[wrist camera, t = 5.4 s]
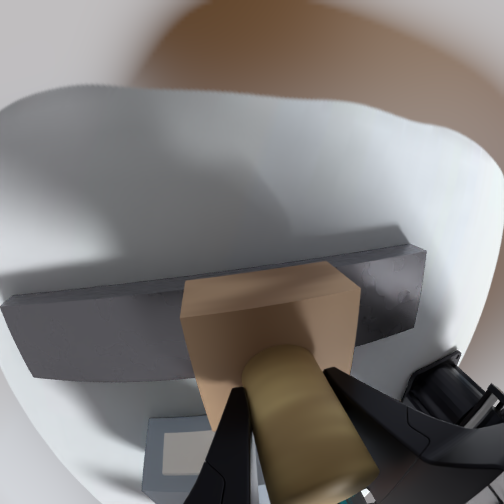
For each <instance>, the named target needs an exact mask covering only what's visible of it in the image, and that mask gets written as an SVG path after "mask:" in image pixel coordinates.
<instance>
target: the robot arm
mask: <svg viewBox="0 0 504 504" xmlns="http://www.w3.org/2000/svg"><path fill="white" fill-rule="evenodd" d="M460 356H461V352H460V351H458V350H457V351H455V352H454V353H452V354H450V355H448V356H446V357H444V358H443V359H441V360H439V361H437V362H435V363H433V364H431V365H429V366H427V367H425V368H423V369H421V370H419V371H416V372H415V373H414V374H413V375H412V376H411V378H410V381H409V384H408V387H407V390H406V392H405V395H404V397H403V400H402V402H399V401H397V400H395V399H393V398H391V397H389V396H387V395H385V394H383V393H382V392H380V391H378V390H376V389H374V388H372V387H370V386H368V385H367V384H365V383H363V382H361V381H359V380H357V379H356V378H354V377H352V376H350V375H348V374H347V373H345V372H343V371H341V370H340V369H338V368H336V367H330V368H326V369H324V370H323V374H324V375H325V377H326V379H327V381H328V382H329V384H330V386H331V387H332V389H333V391H334V393H335V394H336V396H337V398H338V400H339V401H340V403H341V405H342V406H343V408H344V410H345V412H346V413H347V415H348V417H349V419H350V420H351V422H352V424H353V425H354V427H355V429H356V431H357V432H358V434H359V436H360V437H361V439H362V441H363V443H364V444H365V446H366V448H367V450H368V451H369V453H370V455H371V456H372V458H373V460H374V462H375V463H376V465H377V467H378V469H379V471H380V472H379V475H378V476H377V478H376V479H375V480H374V481H373V482H372V483H371V484H370V485H368V487H369V489H370V491H371V493H372V495H373V497H374V499H375V500H376V502H377V504H504V393H503V392H502V391H501V390H500V389H499V388H498V387H496V386H495V385H493V384H492V383H491V384H490V385H489V387H488V388H487V391H486V392H485V391H484V390H483V389H481V387H479V386H478V385H477V384H476V383H475V382H474V381H473V380H472V379H471V378H470V377H469V376H468V375H467V374H465V373H464V372H463V371H462V370H461V369H460V368H459V367H458V366H457V364H458V361H459V359H460ZM497 399H499V400H500V402H499V403H498V405H497V406H496V407H493V405H494V403H495V402H496V401H497ZM183 504H259V492H258V479H257V465H256V451H255V441H254V435H253V431H252V424H251V418H250V412H249V407H248V402H247V398H246V394H245V389H244V387H243V386H241V387H234V388H232V389H231V392H230V394H229V397H228V400H227V403H226V405H225V408H224V411H223V414H222V416H221V419H220V422H219V424H218V427H217V430H216V432H215V435H214V438H213V440H212V443H211V445H210V448H209V451H208V453H207V456H206V458H205V462H204V463H203V466H202V468H201V471H200V473H199V475H198V478H197V480H196V482H195V484H194V486H193V487H192V489H191V491H190V493H189V495H188V496H187V498H186V499H185V501H184V503H183Z"/></svg>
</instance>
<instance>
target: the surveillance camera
mask: <svg viewBox="0 0 504 504" xmlns="http://www.w3.org/2000/svg"><path fill="white" fill-rule="evenodd" d="M366 488H367V489H368V490H369V491H370V489H369V487H368V486H367V487H366ZM366 488H364V489H366ZM370 492H371V491H370ZM337 504H367V503H366V501H365V499H364V497H363V495H362V493H361V491H360V492H358V493H357V494H355V495H353V496H352V497H350V498H348V499H346V500H344V501H341V502H339V503H337ZM369 504H377V502H376V501H375V502H374V503H369Z"/></svg>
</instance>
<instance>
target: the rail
mask: <svg viewBox="0 0 504 504" xmlns="http://www.w3.org/2000/svg"><path fill="white" fill-rule="evenodd" d="M425 260H426V250H423V249H421V248H419V247H417V246H414V245H412V244H406V245H400V246H394V247H388V248H382V249H375V250H369V251H362V252H356V253H349V254H343V255H336V256H330V257H323V258H316V259H309V260H302V261H296V262H289V263H282V264H275V265H267V266H260V267H253V268H246V269H238V270H231V271H223V272H216V273H208V274H201V275H193V276H185V277H177V278H169V279H161V280H153V281H144V282H136V283H128V284H119V285H110V286H101V287H93V288H83V289H74V290H65V291H55V292H45V293H35V294H25V295H14V296H12V297H10V298H9V299H8V300H7V301H6V302H4V303H3V304H2V305H1V306H0V308H1V311H2V313H3V316H4V318H5V321H6V323H7V326H8V328H9V330H10V332H11V335H12V337H13V339H14V341H15V343H16V345H17V347H18V349H19V351H20V353H21V355H22V357H23V359H24V361H25V363H26V365H27V367H28V369H29V370H30V372H31V374H32V376H33V377H35V378H44V379H55V380H68V381H89V382H139V381H161V380H176V379H188V378H195V375H194V371H193V367H192V364H191V360H190V357H189V353H188V349H187V345H186V341H185V337H184V333H183V329H182V325H181V321H180V313H181V306H182V299H183V293H184V286H185V281H187V280H195V279H203V278H210V277H218V276H226V275H233V274H240V273H248V272H255V271H262V270H269V269H276V268H283V267H290V266H296V265H303V264H310V263H316V262H323V261H327V262H328V263H330V264H331V265H332V266H334V267H335V268H336V269H337V270H339V271H340V272H341V273H342V274H344V275H345V276H346V277H347V278H349V279H350V280H351V281H352V282H354V283H355V284H356V285H357V286H359V287H360V288H361V293H360V305H359V314H358V323H357V331H356V339H355V346H354V347H356V346H360V345H363V344H366V343H370V342H373V341H376V340H379V339H382V338H385V337H388V336H391V335H394V334H397V333H400V332H403V331H405V330H408V329H411V328H414V324H415V320H416V315H417V310H418V305H419V300H420V294H421V288H422V282H423V275H424V268H425Z"/></svg>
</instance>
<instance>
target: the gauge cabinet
mask: <svg viewBox="0 0 504 504" xmlns="http://www.w3.org/2000/svg"><path fill="white" fill-rule="evenodd" d="M215 432H216V431H215ZM215 432H213V431H212V428H211V426H210V423H209V420H208V417H207V415H203V416H191V417H175V418H149V424H148V431H147V439H146V448H145V457H144V468H143V479H142V492H144V493H145V494H146V495H147V496H148V497H149V498H150V499H151V500H152V501H154V502H155V503H156V504H183V503H184V501H185V499H186V498H187V496H188V495H189V493H190V491H191V489H192V487H193V486H194V484H195V482H196V480H197V478H198V475H199V473H200V471H201V468H202V466H203V463H204V462H205V458H206V456H207V453H208V451H209V448H210V445H211V443H212V440H213V438H214V435H215ZM254 441H255V440H254ZM255 451H256V465H257V479H258V492H259V504H270V500H269V497H268V493H267V489H266V485H265V481H264V477H263V473H262V469H261V465H260V461H259V457H258V452H257V448H256V444H255Z"/></svg>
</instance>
